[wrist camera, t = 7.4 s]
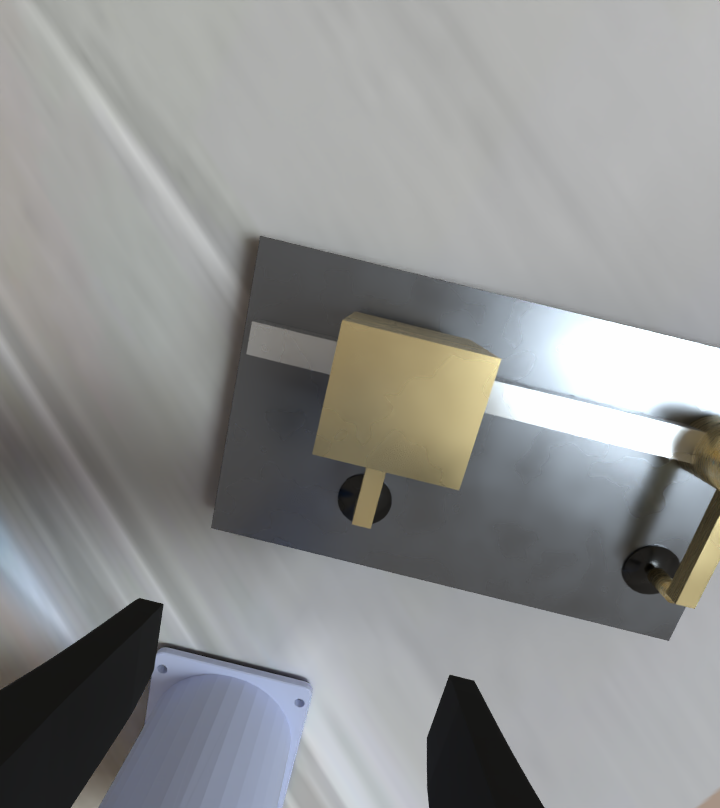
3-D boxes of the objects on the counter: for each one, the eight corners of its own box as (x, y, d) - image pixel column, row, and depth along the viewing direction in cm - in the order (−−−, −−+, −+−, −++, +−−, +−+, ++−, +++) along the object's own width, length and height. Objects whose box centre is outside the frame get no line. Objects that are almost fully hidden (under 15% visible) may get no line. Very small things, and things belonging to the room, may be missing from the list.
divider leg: (410, 523, 18) (418, 616, 13) (313, 499, 18) (283, 582, 13) (465, 336, 16) (501, 358, 11) (357, 310, 16) (342, 319, 11)
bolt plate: (648, 615, 21) (709, 691, 17) (223, 510, 21) (185, 562, 17) (770, 362, 17) (878, 383, 14) (270, 240, 18) (237, 226, 14)
